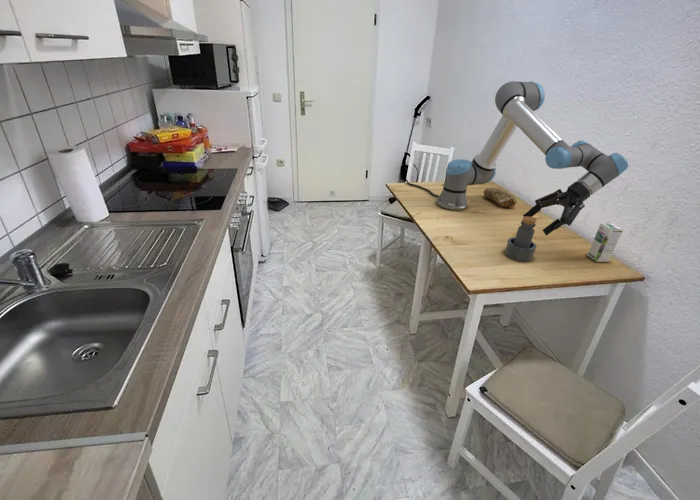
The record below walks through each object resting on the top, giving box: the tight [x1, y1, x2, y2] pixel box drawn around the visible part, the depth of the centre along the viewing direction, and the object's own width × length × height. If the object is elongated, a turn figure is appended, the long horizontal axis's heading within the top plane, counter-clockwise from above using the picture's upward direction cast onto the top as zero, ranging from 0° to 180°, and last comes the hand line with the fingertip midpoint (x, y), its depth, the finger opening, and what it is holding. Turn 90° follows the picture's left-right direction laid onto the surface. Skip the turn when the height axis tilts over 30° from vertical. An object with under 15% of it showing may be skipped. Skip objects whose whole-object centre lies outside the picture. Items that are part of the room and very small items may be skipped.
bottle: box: [514, 216, 537, 248], centre depth 141 cm, size 6×6×15 cm
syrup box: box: [586, 222, 624, 263], centre depth 142 cm, size 6×6×14 cm
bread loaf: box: [483, 187, 517, 209], centre depth 198 cm, size 13×8×20 cm
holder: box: [504, 236, 537, 263], centre depth 144 cm, size 10×10×6 cm
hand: (534, 225), depth 139 cm, fingers open, 13 cm apart
